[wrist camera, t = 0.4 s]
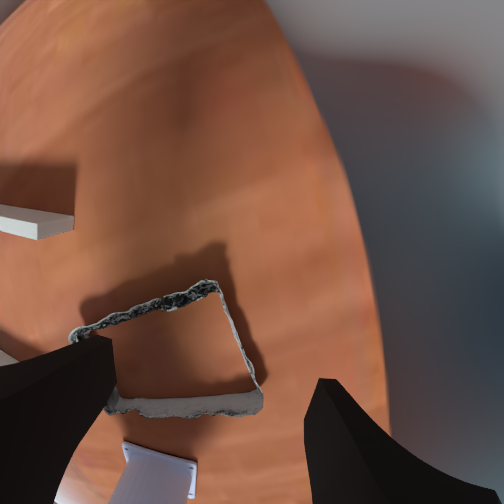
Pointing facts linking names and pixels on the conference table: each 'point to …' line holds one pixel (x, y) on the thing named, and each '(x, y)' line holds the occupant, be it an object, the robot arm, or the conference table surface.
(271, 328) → the conference table surface
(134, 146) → the conference table surface
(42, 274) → the conference table surface
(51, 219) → the box
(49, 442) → the robot arm
